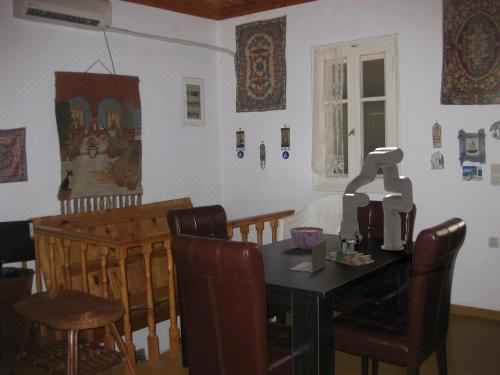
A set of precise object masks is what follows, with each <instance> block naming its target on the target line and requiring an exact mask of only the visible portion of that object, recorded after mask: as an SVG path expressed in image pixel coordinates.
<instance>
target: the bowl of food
mask: <svg viewBox="0 0 500 375" xmlns="http://www.w3.org/2000/svg"><path fill="white" fill-rule="evenodd" d="M289 232H290V236H291V240H292V242H293V245H294V246H295V247H297V248H299V249H300V250H303V251H304V250H305V251H312V246H314V245H317V244H319V243H321V241H322V239H323V234H324V228H321V227H315V226H299V227H298V226H297V227H293V228H290V229H289Z"/></svg>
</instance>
